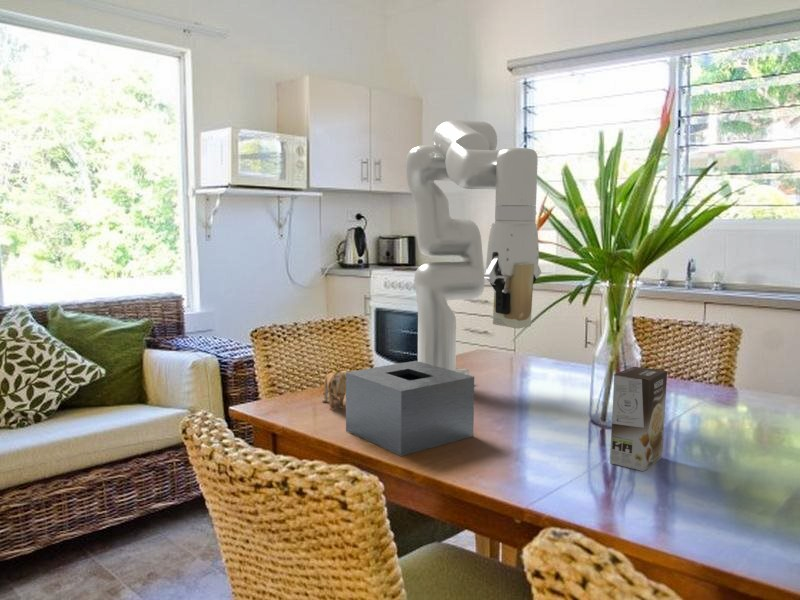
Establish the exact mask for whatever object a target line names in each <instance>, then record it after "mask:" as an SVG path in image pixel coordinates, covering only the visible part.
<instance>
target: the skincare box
mask: <svg viewBox="0 0 800 600" xmlns="http://www.w3.org/2000/svg"><path fill="white" fill-rule="evenodd" d="M496 273H497V272H496ZM501 275H502V274H501ZM533 276H534V264H533V263H523V264H516V270H515V275H514V276H513V277H511V280H510V284H509V289H508V292H507V293H510V313H509V314H501V313H496V311H495V307H496V292H494V291H493V306H492V307H493V309H492V311H493V312H492V325H495V326H501V327H507V328H513V329H516V330H517V329H523V328H529V327H531V326H532V312H533V311H532V310H533V309H532V306H533V293H534V292H533V291H534V284H533ZM501 282H502V283H503V282H504V279H502V280H501Z"/></svg>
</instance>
